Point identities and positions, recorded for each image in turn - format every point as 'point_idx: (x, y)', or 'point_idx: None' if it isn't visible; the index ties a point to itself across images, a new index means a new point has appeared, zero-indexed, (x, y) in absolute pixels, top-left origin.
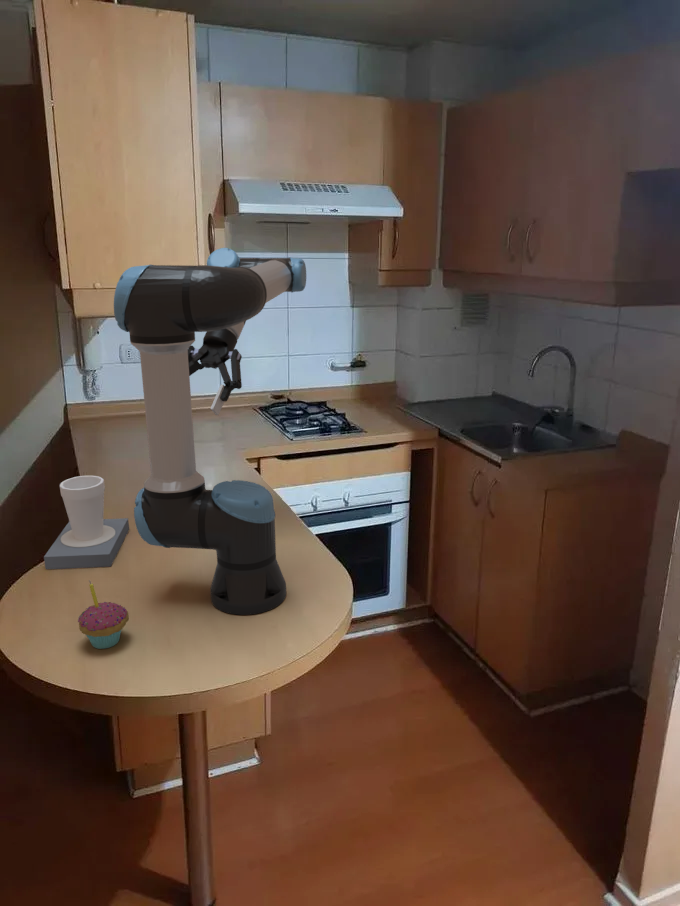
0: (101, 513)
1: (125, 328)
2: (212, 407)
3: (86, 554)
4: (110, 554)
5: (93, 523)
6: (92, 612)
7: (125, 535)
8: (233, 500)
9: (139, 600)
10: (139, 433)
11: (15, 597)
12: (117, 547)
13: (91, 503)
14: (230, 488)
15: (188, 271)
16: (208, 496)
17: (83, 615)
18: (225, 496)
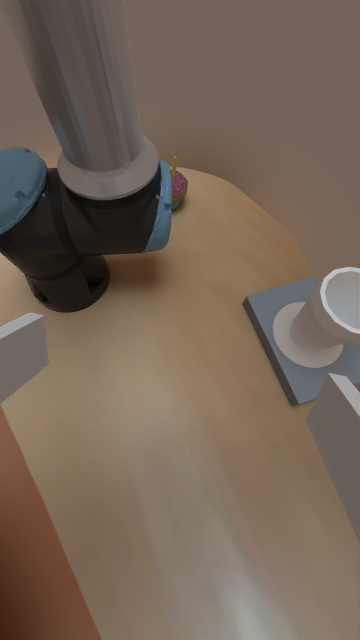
0: (301, 323)
1: None
2: (29, 316)
3: (271, 290)
4: (247, 301)
5: (298, 313)
6: (171, 171)
7: (279, 379)
8: (5, 148)
9: (174, 253)
10: None
11: (288, 237)
12: (260, 335)
13: (311, 295)
14: (13, 171)
15: None
16: (54, 170)
17: (179, 173)
18: (16, 148)
